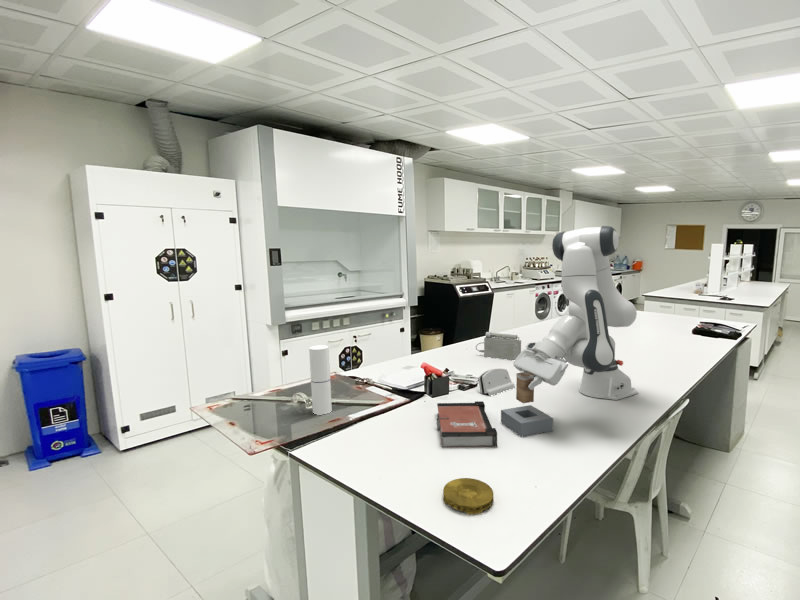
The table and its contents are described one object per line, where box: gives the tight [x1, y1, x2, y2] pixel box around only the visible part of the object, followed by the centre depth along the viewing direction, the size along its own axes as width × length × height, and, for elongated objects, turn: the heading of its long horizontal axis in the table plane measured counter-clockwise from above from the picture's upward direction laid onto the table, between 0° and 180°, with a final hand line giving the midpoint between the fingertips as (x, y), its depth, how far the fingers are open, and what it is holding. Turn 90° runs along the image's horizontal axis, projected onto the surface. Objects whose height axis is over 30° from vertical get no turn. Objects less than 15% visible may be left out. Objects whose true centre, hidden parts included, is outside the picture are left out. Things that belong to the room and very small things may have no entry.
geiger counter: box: [475, 331, 522, 361], centre depth 228 cm, size 14×6×25 cm
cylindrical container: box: [308, 344, 333, 416], centre depth 158 cm, size 7×7×25 cm
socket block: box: [500, 404, 554, 438], centre depth 142 cm, size 12×12×4 cm
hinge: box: [477, 368, 516, 397], centre depth 178 cm, size 17×5×10 cm, turn 127°
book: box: [436, 400, 498, 448], centre depth 141 cm, size 26×18×5 cm
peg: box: [515, 372, 535, 404], centre depth 140 cm, size 4×4×9 cm
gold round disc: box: [442, 477, 494, 515], centre depth 102 cm, size 12×12×2 cm
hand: (523, 385), depth 140 cm, fingers closed on peg, 4 cm apart
